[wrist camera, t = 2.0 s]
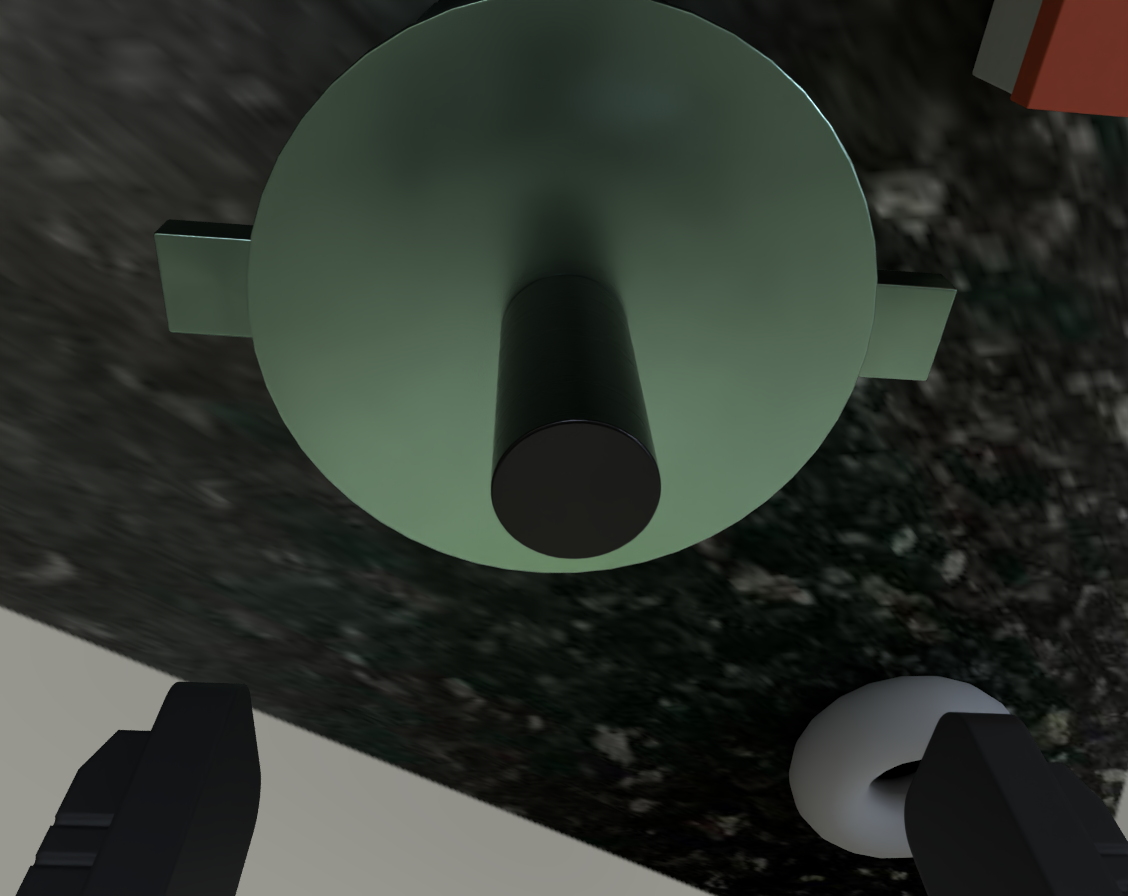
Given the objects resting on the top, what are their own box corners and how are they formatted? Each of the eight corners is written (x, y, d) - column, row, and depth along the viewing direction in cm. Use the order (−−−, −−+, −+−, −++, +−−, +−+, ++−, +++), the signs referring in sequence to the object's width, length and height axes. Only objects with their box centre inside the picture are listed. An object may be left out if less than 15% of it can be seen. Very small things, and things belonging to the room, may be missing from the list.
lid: (226, -51, 17) (59, -2, 11) (941, 15, 18) (1149, 92, 12) (283, 534, 24) (202, 756, 18) (790, 559, 25) (871, 777, 19)
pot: (226, -63, 24) (94, -29, 17) (905, 1, 25) (1055, 58, 18) (268, 371, 30) (187, 529, 23) (801, 404, 32) (880, 562, 25)
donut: (977, 624, 38) (749, 707, 40) (1016, 687, 35) (768, 773, 37) (1024, 765, 43) (819, 833, 45) (1062, 831, 40) (840, 900, 42)
